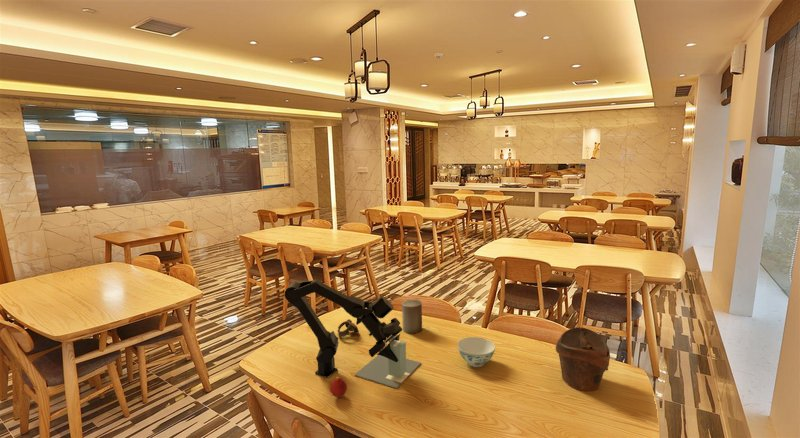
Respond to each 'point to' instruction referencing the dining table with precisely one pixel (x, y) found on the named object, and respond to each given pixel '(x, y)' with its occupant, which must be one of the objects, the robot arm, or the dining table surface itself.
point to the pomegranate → (338, 387)
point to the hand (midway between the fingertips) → (400, 358)
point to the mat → (385, 372)
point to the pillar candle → (412, 316)
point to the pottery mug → (349, 326)
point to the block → (400, 353)
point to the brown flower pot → (582, 358)
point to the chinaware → (476, 350)
